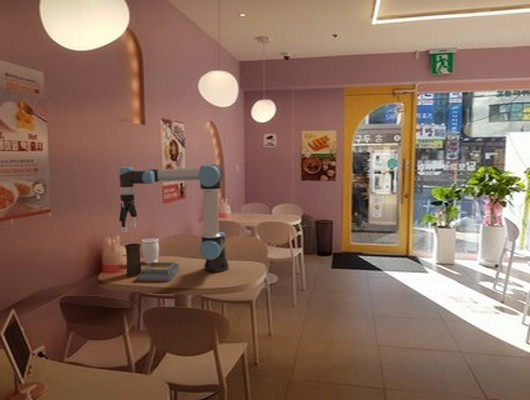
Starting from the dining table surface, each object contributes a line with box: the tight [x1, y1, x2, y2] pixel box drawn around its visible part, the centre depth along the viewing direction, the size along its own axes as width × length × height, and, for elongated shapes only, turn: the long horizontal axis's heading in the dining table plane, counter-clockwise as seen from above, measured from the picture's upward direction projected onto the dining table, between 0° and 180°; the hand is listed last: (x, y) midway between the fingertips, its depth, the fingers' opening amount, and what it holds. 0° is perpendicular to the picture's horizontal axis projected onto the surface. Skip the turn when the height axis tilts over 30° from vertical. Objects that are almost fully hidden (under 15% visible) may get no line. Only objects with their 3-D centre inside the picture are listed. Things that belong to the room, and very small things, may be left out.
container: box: [125, 243, 143, 278], centre depth 242 cm, size 9×9×18 cm
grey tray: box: [137, 261, 180, 282], centre depth 240 cm, size 18×20×6 cm
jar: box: [141, 237, 160, 264], centre depth 269 cm, size 11×10×15 cm
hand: (129, 230), depth 240 cm, fingers open, 13 cm apart
